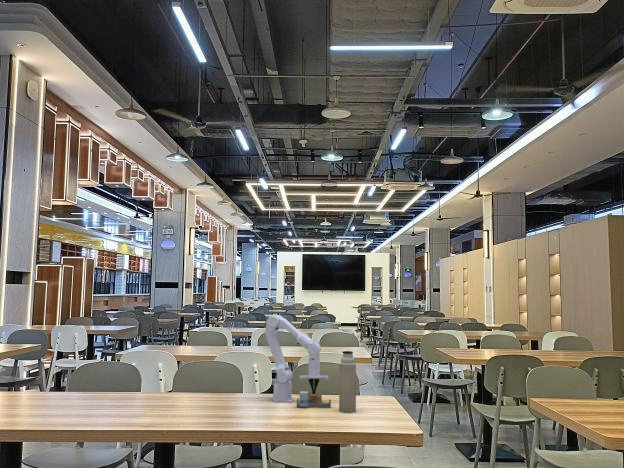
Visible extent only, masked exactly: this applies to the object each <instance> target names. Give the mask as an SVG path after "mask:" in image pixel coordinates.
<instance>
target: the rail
mask: <svg viewBox="0 0 624 468" xmlns="http://www.w3.org/2000/svg"><path fill="white" fill-rule="evenodd" d="M296 408H308V409H309V408H310V409H311V408H312V409H313V408H315V409H321V408H322V409H331V408H332V400H331V399H330V398H329V399H328V402H326V401H325V402H323V401H322V402H308V406H300V398H296Z"/></svg>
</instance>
